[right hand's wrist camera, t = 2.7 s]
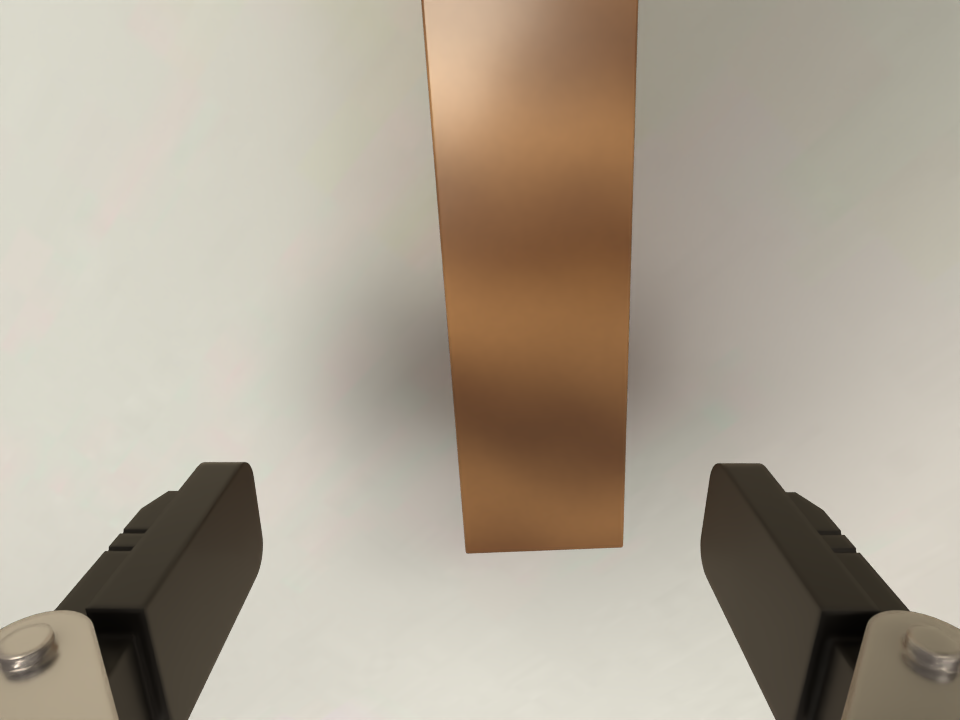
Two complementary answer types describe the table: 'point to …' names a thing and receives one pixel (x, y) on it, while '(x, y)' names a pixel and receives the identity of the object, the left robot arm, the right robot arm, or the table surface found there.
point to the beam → (536, 260)
